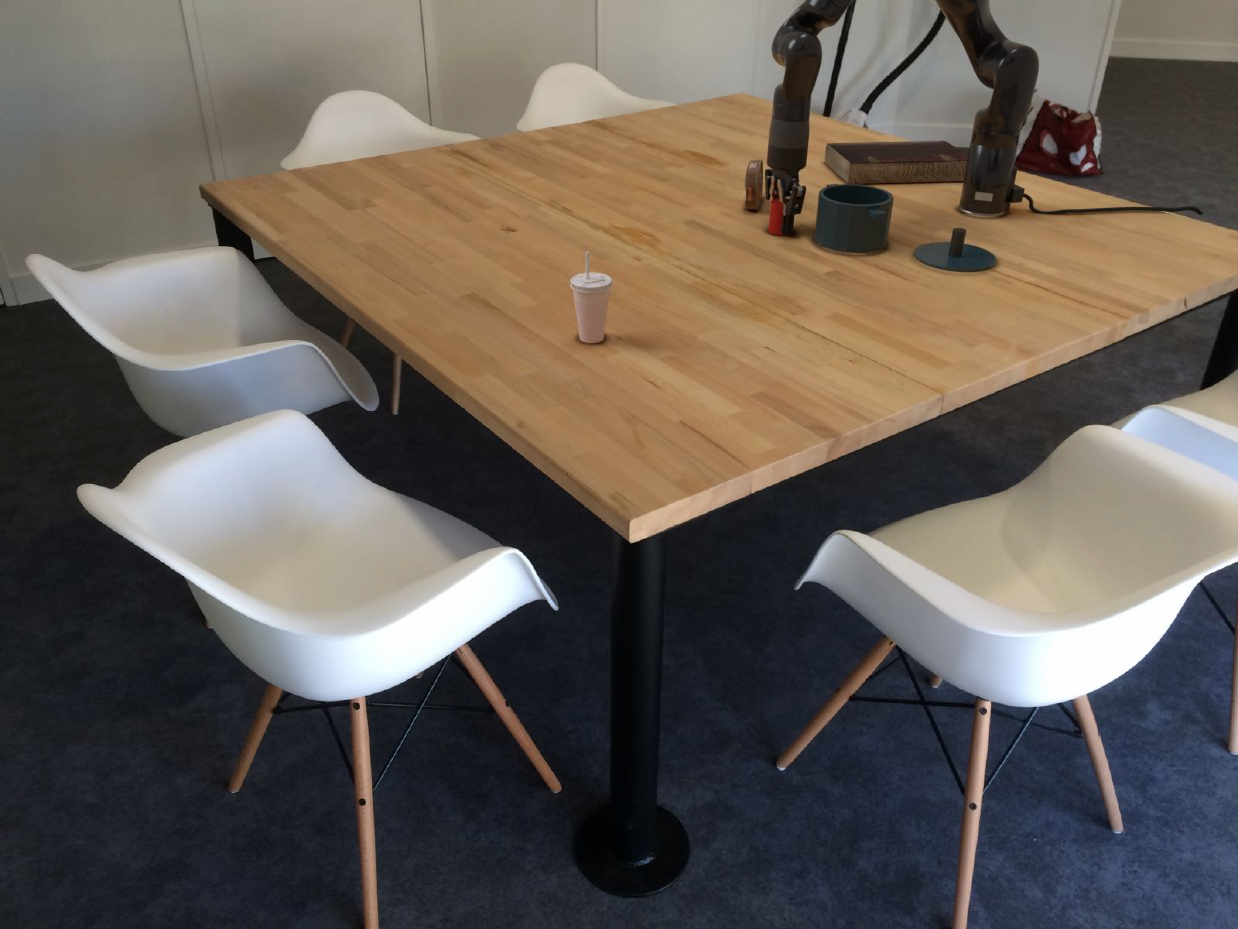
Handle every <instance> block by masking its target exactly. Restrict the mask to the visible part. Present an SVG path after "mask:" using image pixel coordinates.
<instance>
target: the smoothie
mask: <svg viewBox="0 0 1238 929" xmlns="http://www.w3.org/2000/svg"><path fill="white" fill-rule="evenodd" d="M570 288H571V289H572V295H573V301H574V307H575V314H576V321H577V330H578V335H579V340H580V341H581V342H583V343H586V344H597V343H598V344H599V343H600V342H603V341H604V337H605V330H606V324H607V323H606V322H607V314H608V306H609V300H610V291H611V289H612V288H613V278H612V277H611V276H610V275H608V274H605V273H602V272H595V271H593V272H590V251H585V272H582V273H578V274H574V275H573V276H572V277H571V278H570Z"/></svg>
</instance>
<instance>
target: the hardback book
mask: <svg viewBox="0 0 1238 929" xmlns="http://www.w3.org/2000/svg"><path fill="white" fill-rule="evenodd" d="M967 159H968V154H967V153H966V152H964V151H963V150H961V149H959V148H957V147H956V146H954V145H953V144H951V143H950V142H948V141H947V140H918V141H916V140H915V141H914V140H912V141H911V140H910V141H875V142H874V141H873V142H872V141H871V142H869V141H867V142H828V143H826V145H825V152H824V164H825V165H826V166H827V167H828V168H829V169H831V170H832V171H833V172H834V173H835V174H836V175H837V176H839V178H840V179H842V180H843V181H844V182H845V184H889V183H890V184H891V183H892V184H893V183H931V182H933V183H934V182H963V181H964V176H965V170H966V164H967Z"/></svg>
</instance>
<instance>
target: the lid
mask: <svg viewBox="0 0 1238 929" xmlns="http://www.w3.org/2000/svg"><path fill="white" fill-rule="evenodd" d="M966 236H967V230H966V228H963V227H953V229H952V232H951V238H950V241H934V242H927V243H923V244H921V245H918V246H917V247H916V248H915V249H914V252H913V256H914V257H915V259H916V260H917V261H919V262H920V263H922V264H924V265H926V266H929V267H931V268H934V269H935V268H936V269H938V270H945V271H951V272H958V273H959V272H961V273H971V272H972V273H973V272H982V271H986V270H989V269H991V268H993V267H994V266H995V265H996V264H997V257H996V255H995V254H994V253H993V252H991V251H990V250H987V249H985V248H984V247H980V246H977V245H973V244H969V243H965V240H966Z"/></svg>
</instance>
